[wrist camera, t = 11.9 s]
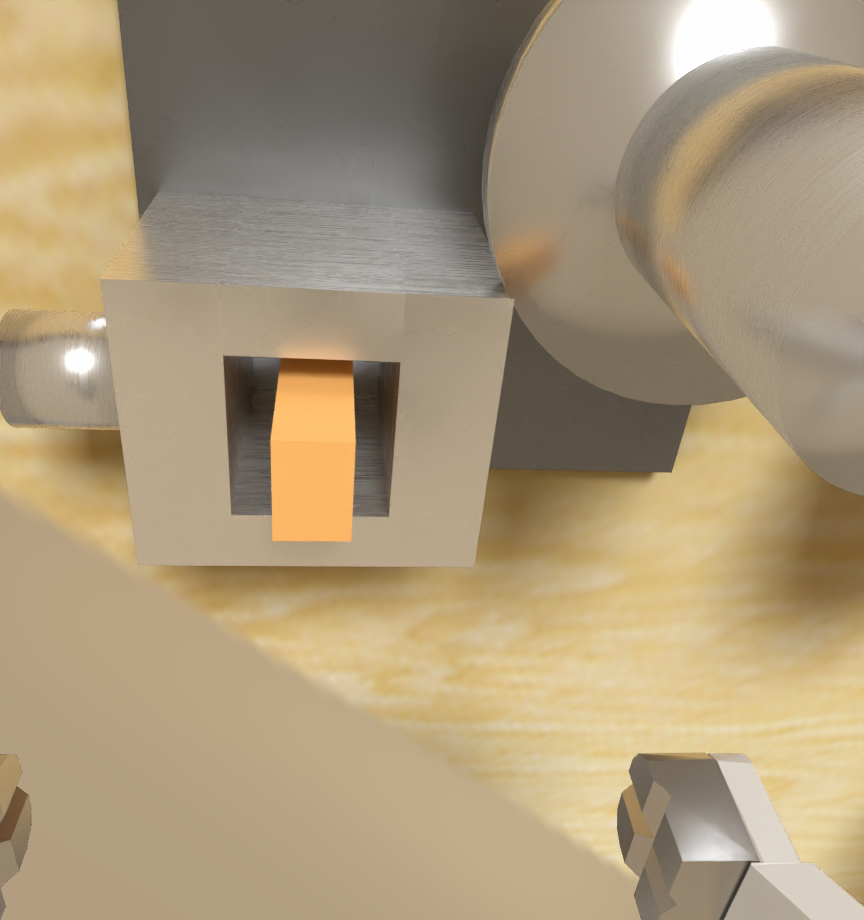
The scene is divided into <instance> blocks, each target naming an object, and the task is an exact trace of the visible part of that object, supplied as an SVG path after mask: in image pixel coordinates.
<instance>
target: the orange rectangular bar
mask: <svg viewBox="0 0 864 920" xmlns="http://www.w3.org/2000/svg"><path fill="white" fill-rule="evenodd" d="M270 444H271V492H272V539H273V541H349V542H351V539H352V516H353V493H354V470H355V447H356V436H355V410H354V383H353V360H330V359H303V358H281V362H280V370H279V377H278V385H277V393H276V401H275V409H274V416H273V424H272V432H271V440H270Z"/></svg>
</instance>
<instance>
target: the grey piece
mask: <svg viewBox="0 0 864 920" xmlns="http://www.w3.org/2000/svg"><path fill="white" fill-rule="evenodd" d="M118 10H119V20H120V30H121V40H122V50H123V60H124V70H125V79H126V89H127V99H128V109H129V119H130V129H131V139H132V149H133V159H134V168H135V178H136V188H137V198H138V208H139V218H140V220H139V221H138V223H137V224H136V226H135V227H134V229H133V230H132V232H131V233H130V235H129V236H128V238H127V239H126V241H125V242H124V244H123V245H122V247H121V248H120V250H119V251H118V253H117V254H116V256H115V257H114V259H113V260H112V262H111V263H110V265H109V266H108V268H107V269H106V270H105V272H104V273H103V275H102V276H101V278H100V283H101V290H102V298H103V305H104V313H103V312H80V311H57V310H34V309H11V310H9V311H8V312H7V313H6V314H5V315H4V317H3V319H2V320H1V323H0V410H1V412H2V415H3V417H4V418H5V420H6V421H7V423H8V424H9V425H11V426H12V427H16V428H49V429H87V430H120V434H121V442H122V449H123V457H124V464H125V472H126V480H127V487H128V495H129V502H130V510H131V518H132V525H133V533H134V540H135V548H136V555H137V563H138V565H175V566H355V567H474V566H475V559H476V552H477V546H478V539H479V533H480V526H481V519H482V513H483V506H484V499H485V493H486V486H487V479H488V473H489V469H531V470H578V471H624V472H671V473H672V469H673V466H674V462H675V459H676V456H677V452H678V449H679V445H680V442H681V439H682V435H683V432H684V428H685V425H686V422H687V418H688V415H689V411H690V408H691V405H702V404H710V403H717V402H724V401H731V400H735V399H739V398H742V397H746V396H747V397H748V399H749V400H750V401H751V402H752V403H753V404H754V405H755V407H756V408H757V409H758V410H759V411H760V412H761V413H762V415H763V416H764V417H765V418H766V419H767V420H768V421H769V423H770V424H771V425H772V426H773V427H774V428H775V429H776V431H777V432H778V433H779V434H780V435H781V436H782V437H783V439H784V440H785V441H786V442H787V443H788V444H789V445H790V447H791V448H792V449H793V450H794V451H795V452H796V453H797V455H798V456H799V457H800V458H801V459H802V460H803V461H804V463H805V464H806V465H807V466H808V467H809V468H810V469H811V470H812V471H814V472H815V473H816V474H817V475H819V476H820V477H821V478H822V479H824V480H825V481H827V482H829V483H831V484H833V485H834V486H836V487H838V488H840V489H843V490H846V491H848V492H851V493H854V494H856V495H861V496H864V0H118ZM281 358H303V359H330V360H353V383H354V410H355V436H356V447H355V470H354V493H353V516H352V539H351V542H349V541H273V539H272V492H271V444H270V440H271V432H272V424H273V416H274V409H275V401H276V393H277V385H278V377H279V370H280V362H281Z"/></svg>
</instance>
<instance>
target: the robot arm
mask: <svg viewBox="0 0 864 920" xmlns="http://www.w3.org/2000/svg"><path fill="white" fill-rule="evenodd" d="M629 773H630V776H631V780H632V783H633V784H632V785H631V786H629V787H628V788H627V789H625V790H624V791H623V792H622V794H621V797H620V801H619V805H618V808H617V830H618V837H619V843H620V848H621V851H622V855H623V859H624V862H625V864H626V865H627V866H628V867H629V868H630V869H631V870H632V871H633V872H634V873H635V874H636V875H637V876H638V877H639V878H640V879H639V882H638V885H637V888H636V890H635V893H634V897H635V900H636V904H637V907H638V910H639V914H640V917H641V920H864V906H863V905H861V904H860V903H859V902H858V901H857V900H856V899H854V898H853V897H852V896H851V895H850V894H848V893H847V892H846V891H845V890H844V889H843V888H841V887H840V886H839V885H838V884H837V883H835V882H834V881H833V880H832V879H831V878H830V877H828V876H827V875H826V874H825V873H824V872H822V871H821V870H820V869H819V868H818V867H817V866H815V865H814V864H813V863H812V862H801V861H800V859H799V857H798V855H797V853H796V851H795V849H794V847H793V845H792V843H791V841H790V839H789V837H788V835H787V833H786V831H785V829H784V827H783V824H782V822H781V820H780V818H779V816H778V814H777V812H776V810H775V808H774V806H773V804H772V802H771V800H770V798H769V796H768V794H767V792H766V790H765V788H764V786H763V784H762V782H761V780H760V778H759V776H758V774H757V772H756V770H755V768H754V766H753V764H752V761H751V760H750V759H749V758H748V757H747V756H746V755H745V754H739V753H729V754H706V753H646V754H638V755H637V756H635V757H634V758H633V760H632V763H631V766H630V769H629ZM21 774H22V769H21V765H20V762H19V759H18V756H17V755H9V754H0V920H1V918H2V915H3V912H4V910H5V907H6V905H5V901H4V898H3V895H2V891H1V887H2V886H3V885H4V884H5V883H6V882H7V881H8V880H10V879H11V878H12V877H13V876H14V875H15V874H16V873H17V872H19V870H20V867H21V864H22V861H23V858H24V855H25V853H26V850H27V846H28V840H29V835H30V830H31V804H30V800H29V796H28V794H27V793H25V792H24V791H23V790H21V789H20V788H19V787H17V784H18V781H19V779H20V776H21Z"/></svg>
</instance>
